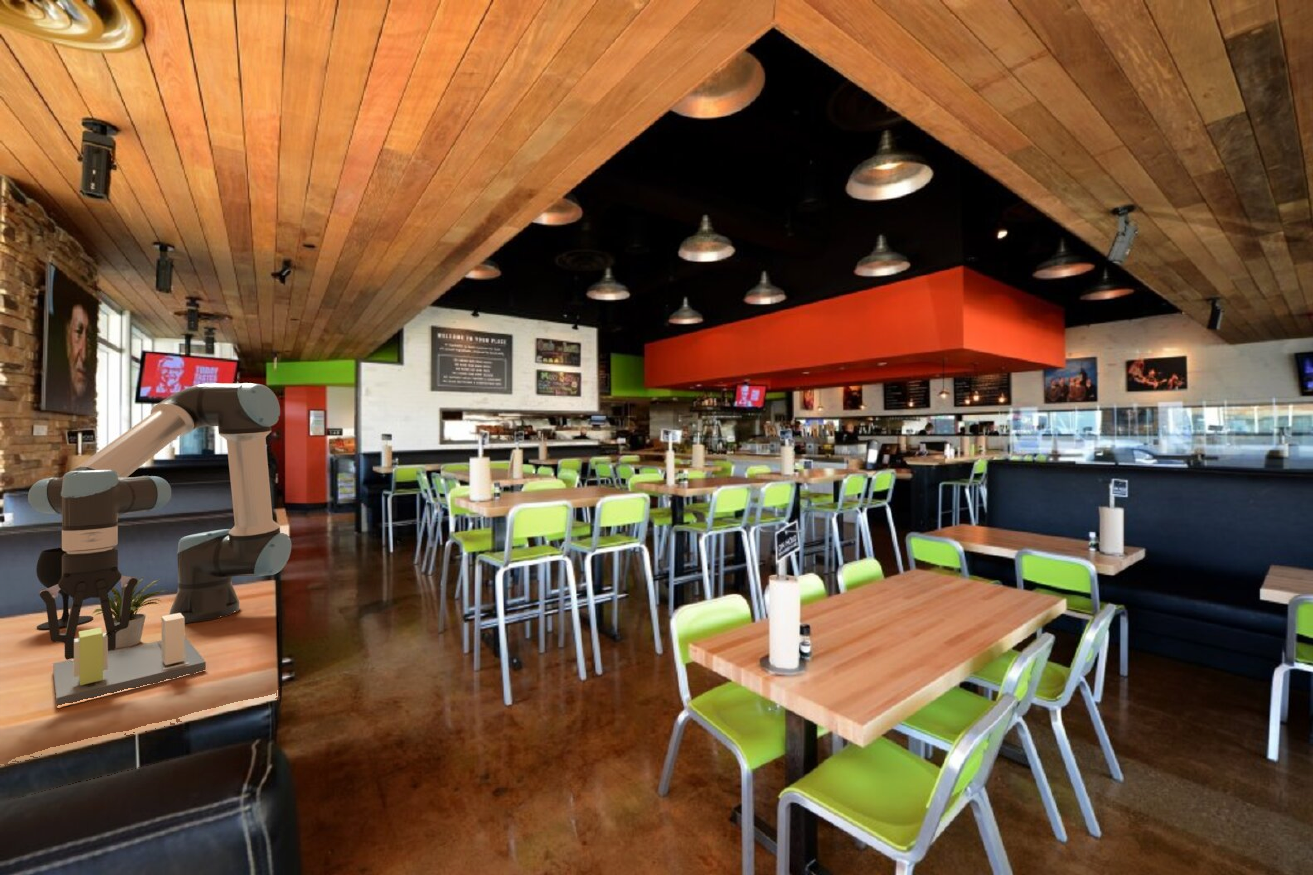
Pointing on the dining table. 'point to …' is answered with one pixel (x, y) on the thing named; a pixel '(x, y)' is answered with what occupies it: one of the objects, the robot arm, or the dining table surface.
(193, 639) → the dining table surface
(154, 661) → the mixing board
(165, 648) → the fader cream
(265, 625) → the dining table surface
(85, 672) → the fader lime
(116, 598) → the house plant
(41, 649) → the dining table surface
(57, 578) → the wine glass
